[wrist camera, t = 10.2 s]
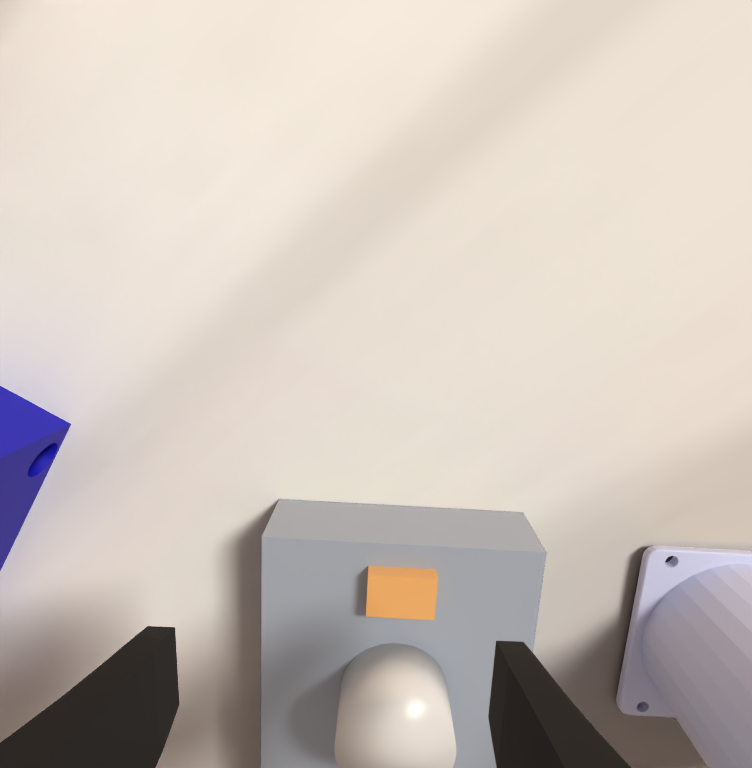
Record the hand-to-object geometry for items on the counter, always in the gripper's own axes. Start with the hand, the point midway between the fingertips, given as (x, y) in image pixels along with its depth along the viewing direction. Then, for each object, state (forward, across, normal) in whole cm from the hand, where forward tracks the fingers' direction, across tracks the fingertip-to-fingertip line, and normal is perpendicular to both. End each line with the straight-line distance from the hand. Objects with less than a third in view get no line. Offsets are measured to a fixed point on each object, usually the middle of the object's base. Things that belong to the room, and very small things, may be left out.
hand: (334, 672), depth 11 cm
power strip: (+9, -2, +12) cm, 15 cm away
